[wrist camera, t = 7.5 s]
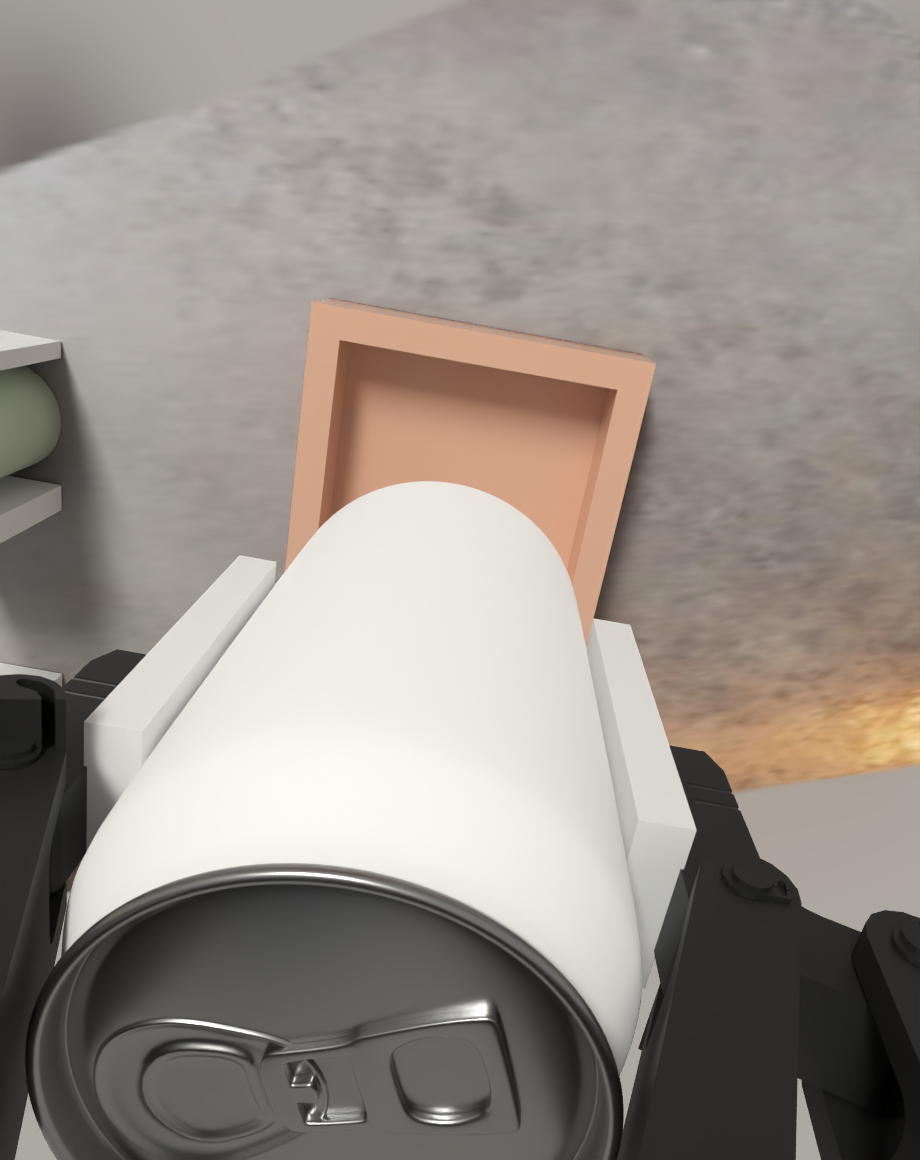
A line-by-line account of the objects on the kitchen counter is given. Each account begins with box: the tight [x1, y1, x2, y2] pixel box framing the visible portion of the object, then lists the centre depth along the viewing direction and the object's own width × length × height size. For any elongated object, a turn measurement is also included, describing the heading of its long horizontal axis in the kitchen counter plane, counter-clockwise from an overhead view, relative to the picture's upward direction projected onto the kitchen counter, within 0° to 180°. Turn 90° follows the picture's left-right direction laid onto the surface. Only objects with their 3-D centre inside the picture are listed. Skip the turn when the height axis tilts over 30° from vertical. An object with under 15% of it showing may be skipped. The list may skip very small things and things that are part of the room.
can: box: [25, 481, 642, 1160], centre depth 13 cm, size 6×6×12 cm
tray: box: [285, 298, 656, 646], centre depth 30 cm, size 11×11×3 cm
